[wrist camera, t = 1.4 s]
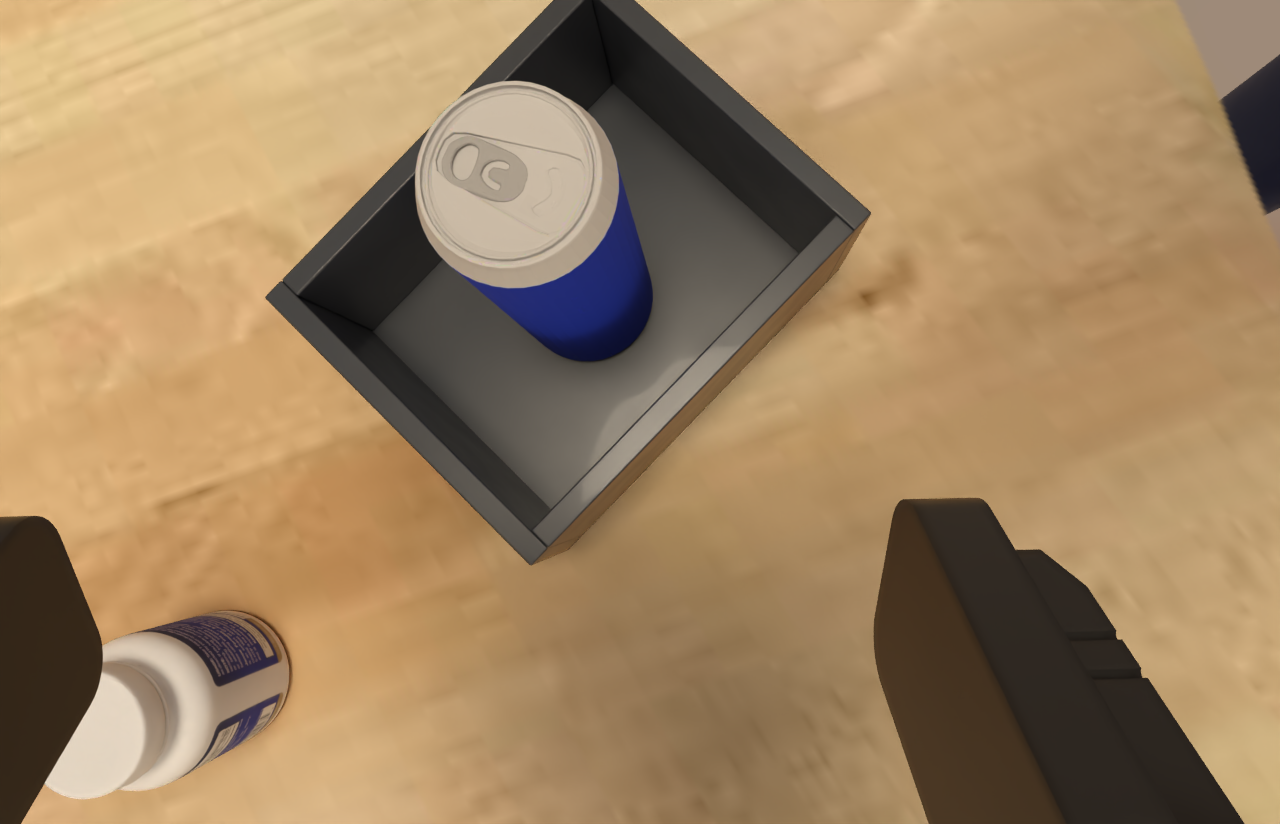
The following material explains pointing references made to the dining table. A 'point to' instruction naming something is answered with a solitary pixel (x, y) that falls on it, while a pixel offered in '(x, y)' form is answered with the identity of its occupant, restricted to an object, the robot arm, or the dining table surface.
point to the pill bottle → (173, 703)
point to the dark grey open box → (675, 256)
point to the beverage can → (536, 217)
